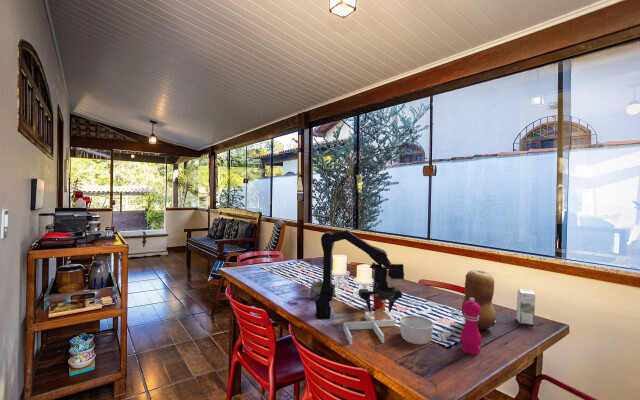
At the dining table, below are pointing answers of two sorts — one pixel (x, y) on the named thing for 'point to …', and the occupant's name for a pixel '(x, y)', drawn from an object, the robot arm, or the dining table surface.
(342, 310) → the dining table surface
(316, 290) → the mineral rock
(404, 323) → the ramekin
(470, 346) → the pepper mill
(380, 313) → the ball
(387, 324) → the dish
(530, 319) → the syrup box
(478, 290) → the butternut squash
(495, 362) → the dining table surface
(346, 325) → the white c-shaped bracket
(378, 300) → the paper cup
